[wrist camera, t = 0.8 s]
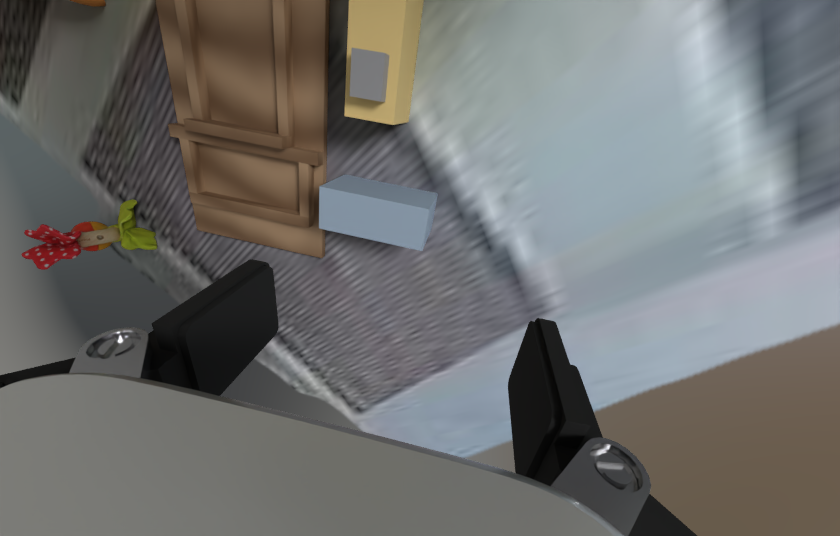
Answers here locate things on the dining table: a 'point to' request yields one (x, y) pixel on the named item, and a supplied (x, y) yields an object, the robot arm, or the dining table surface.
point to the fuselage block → (381, 59)
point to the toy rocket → (90, 2)
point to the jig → (251, 115)
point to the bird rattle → (89, 238)
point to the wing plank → (377, 211)
